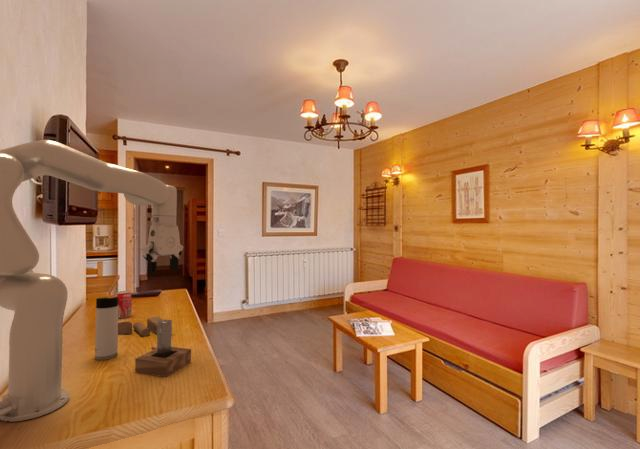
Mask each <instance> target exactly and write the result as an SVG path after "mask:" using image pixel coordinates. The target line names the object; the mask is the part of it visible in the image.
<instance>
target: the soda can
mask: <svg viewBox="0 0 640 449" xmlns="http://www.w3.org/2000/svg"><path fill="white" fill-rule="evenodd" d="M114 297H118V320H119V319H120V320H121V319H127V318H129V317H130V316H131V315H132V307H133V306H132V303H133V302H132V300H133V299H132V298H133V297H132V293H131V291H130V290H119V291H116V293H115V295H114Z"/></svg>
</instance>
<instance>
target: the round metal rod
mask: <svg viewBox="0 0 640 449" xmlns="http://www.w3.org/2000/svg"><path fill="white" fill-rule="evenodd" d="M172 321H173V320H172V319H163V320H160V321H158V322H157V334H156V336H157V337H156V347H157V357H160V358H167V357H169V356H170V355H171V347H172V335H173V332H172V331H173V330H172V329H173V325H172V324H173V322H172Z"/></svg>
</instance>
